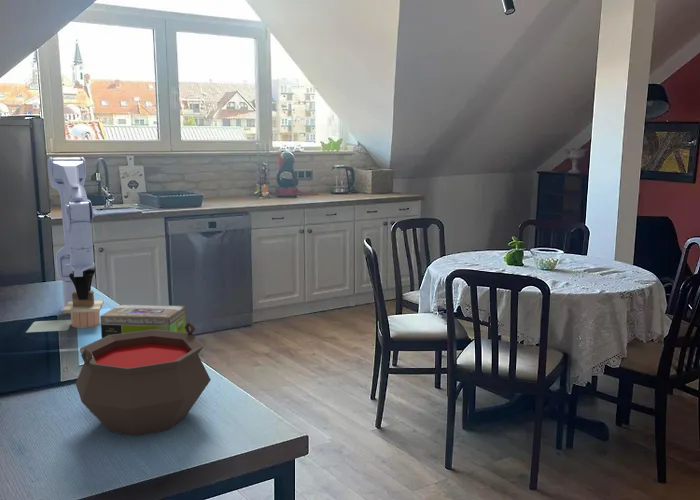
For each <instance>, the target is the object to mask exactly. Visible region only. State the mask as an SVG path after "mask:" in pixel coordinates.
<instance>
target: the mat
mask: <svg viewBox="0 0 700 500" xmlns="http://www.w3.org/2000/svg"><path fill="white" fill-rule="evenodd" d="M71 326H72V325H71V319H57V320H40V321H38V320H37V321H34V322H33V323H31V325H30V326H29V328H28V329H27V330H26V331H25V333H28V334H29V333H44V332H61V331H64V332H65V331H68V330H69V329H70V327H71Z"/></svg>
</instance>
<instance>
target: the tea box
mask: <svg viewBox="0 0 700 500" xmlns="http://www.w3.org/2000/svg"><path fill="white" fill-rule="evenodd" d="M186 320H187V319H186V306H185V305H161V304H160V305H158V304H157V305H154V304H119V305H117V306H115V307H113V308H111V309H110V310H108V311H106V312H105V313H102V314H100V332H101V333H100V334H101V339H102V338H104V337H106V336H108V335H114V334H122V333H129V332H137V331H145V330H153V329H155V330H165V331H174V332H183V333H187V331H186V329H185V326H186V325H187V323H186Z"/></svg>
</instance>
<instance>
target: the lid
mask: <svg viewBox="0 0 700 500" xmlns="http://www.w3.org/2000/svg"><path fill="white" fill-rule="evenodd" d="M72 300H73V301H72V302H68V303H67V305H66V306H65V308H64V309H63V311H62V314H71V313H81V312H100V311H101V309H102V308H103V306H104V299H97V300H95V294H94V290H91V291H89V294H88V299H87V300H79V298H78V296H77V292H73V293H72Z"/></svg>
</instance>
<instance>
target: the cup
mask: <svg viewBox="0 0 700 500" xmlns="http://www.w3.org/2000/svg"><path fill="white" fill-rule="evenodd" d="M100 316H101V313H100V312H81V313H70V320H71V325H70V326H71V327H73V328H77V329H78V328H80V329H85V328H86V329H87V328H92V327H96V326H98V325H101V320H100Z"/></svg>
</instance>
